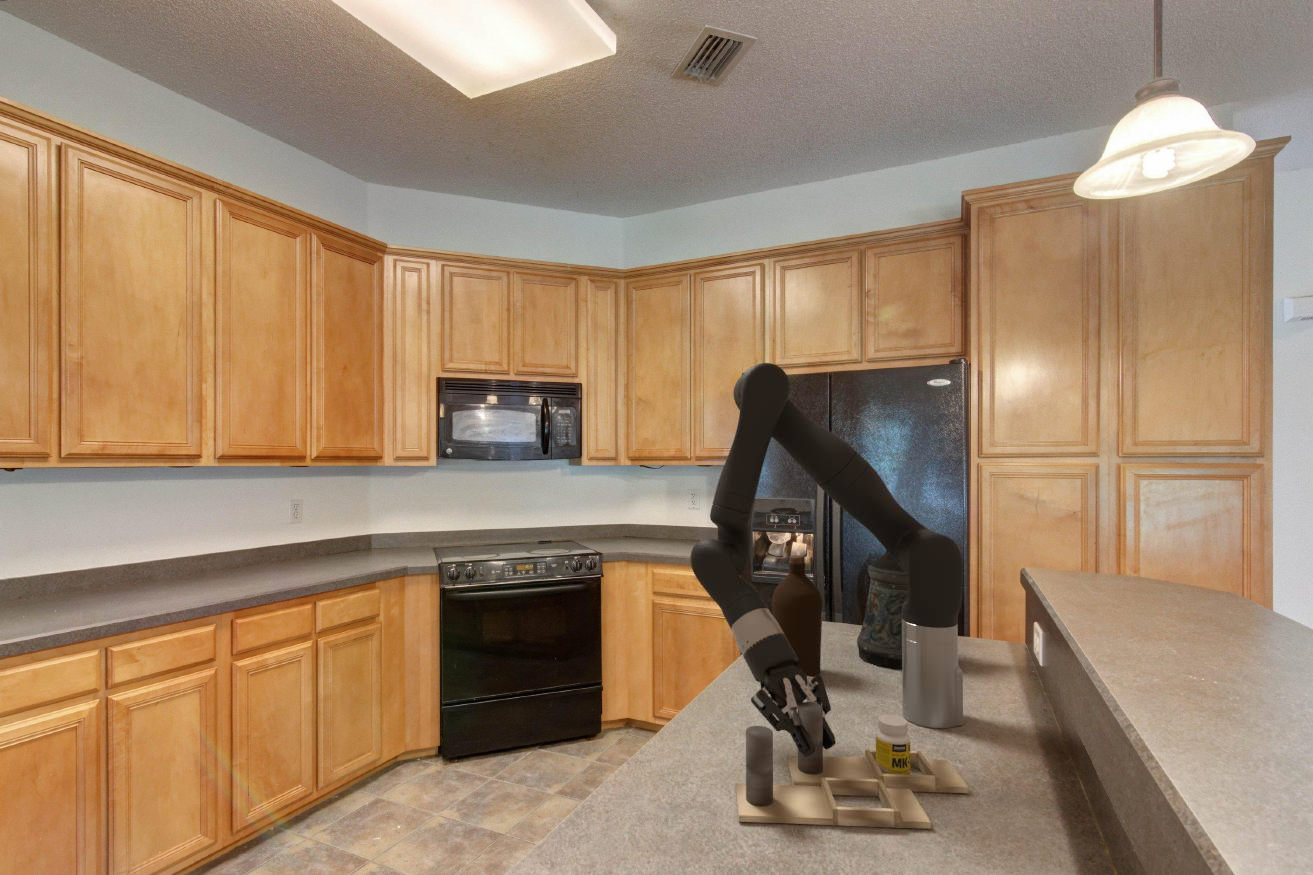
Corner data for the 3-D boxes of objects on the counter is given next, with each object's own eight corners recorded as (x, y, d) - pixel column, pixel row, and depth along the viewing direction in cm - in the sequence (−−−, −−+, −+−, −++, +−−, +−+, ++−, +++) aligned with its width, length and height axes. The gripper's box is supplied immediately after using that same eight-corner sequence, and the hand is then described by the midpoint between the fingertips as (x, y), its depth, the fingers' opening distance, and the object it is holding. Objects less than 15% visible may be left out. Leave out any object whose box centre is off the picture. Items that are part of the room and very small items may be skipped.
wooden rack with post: (946, 765, 98) (946, 699, 98) (968, 793, 90) (967, 721, 90) (786, 760, 100) (785, 695, 100) (793, 787, 92) (793, 717, 92)
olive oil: (784, 684, 133) (784, 561, 133) (764, 667, 143) (764, 553, 144) (832, 680, 135) (831, 559, 136) (809, 663, 145) (808, 551, 146)
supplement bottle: (893, 789, 91) (893, 729, 92) (868, 774, 96) (868, 716, 96) (917, 781, 94) (917, 722, 94) (892, 767, 98) (892, 710, 98)
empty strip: (910, 794, 90) (909, 723, 90) (930, 828, 82) (930, 749, 82) (735, 788, 91) (735, 718, 91) (738, 821, 83) (738, 744, 83)
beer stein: (842, 651, 154) (842, 546, 155) (911, 644, 160) (910, 542, 161) (887, 674, 138) (886, 556, 139) (961, 665, 144) (960, 552, 145)
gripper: (740, 638, 98) (799, 751, 88) (806, 625, 106) (868, 727, 96) (718, 664, 102) (772, 774, 92) (783, 649, 110) (839, 749, 100)
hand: (820, 749), depth 94 cm, fingers closed on wooden rack with post, 3 cm apart
